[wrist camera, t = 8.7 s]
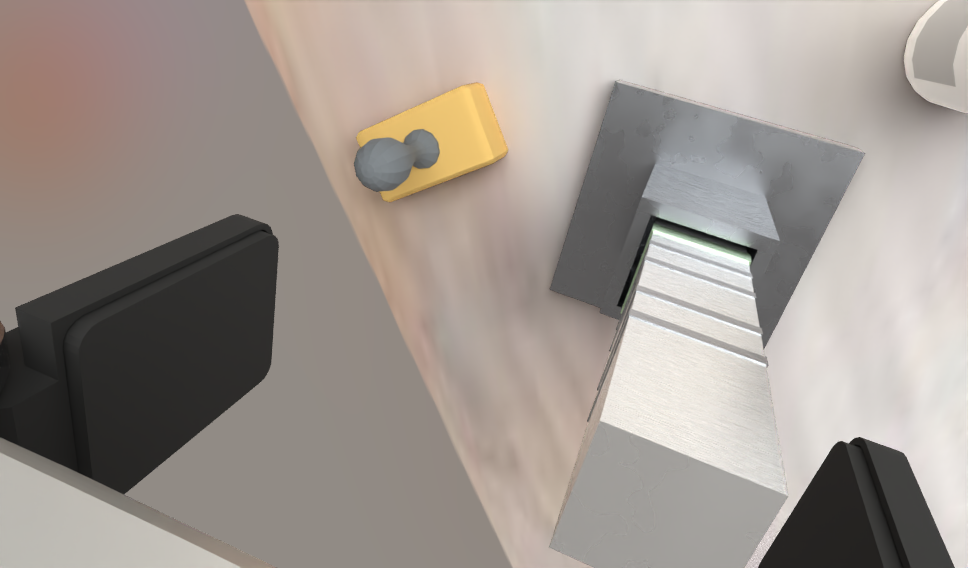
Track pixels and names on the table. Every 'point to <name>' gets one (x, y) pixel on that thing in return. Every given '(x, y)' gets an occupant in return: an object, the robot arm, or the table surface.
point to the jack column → (679, 419)
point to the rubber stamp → (430, 143)
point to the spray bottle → (940, 55)
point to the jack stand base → (700, 195)
